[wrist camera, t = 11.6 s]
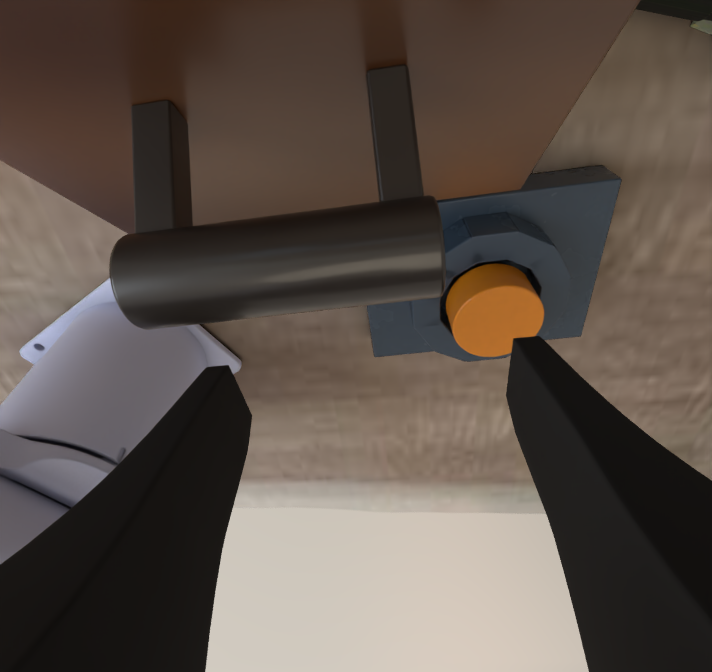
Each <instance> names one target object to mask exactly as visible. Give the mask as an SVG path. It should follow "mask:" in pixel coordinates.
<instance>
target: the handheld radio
mask: <svg viewBox="0 0 712 672" xmlns="http://www.w3.org/2000/svg"><path fill="white" fill-rule="evenodd" d="M635 9H639V10H643V11H648V12H653V13H658V14H663V15H668V16H673V17H678V18H683V19H688V20H693V22H692V24H691V26H690V27H692V28H695V29H697V30H700V31H702V32H705V33H707V34H710V35H712V0H640V2H639V4H638V5H637V7H636V8H635Z"/></svg>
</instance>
